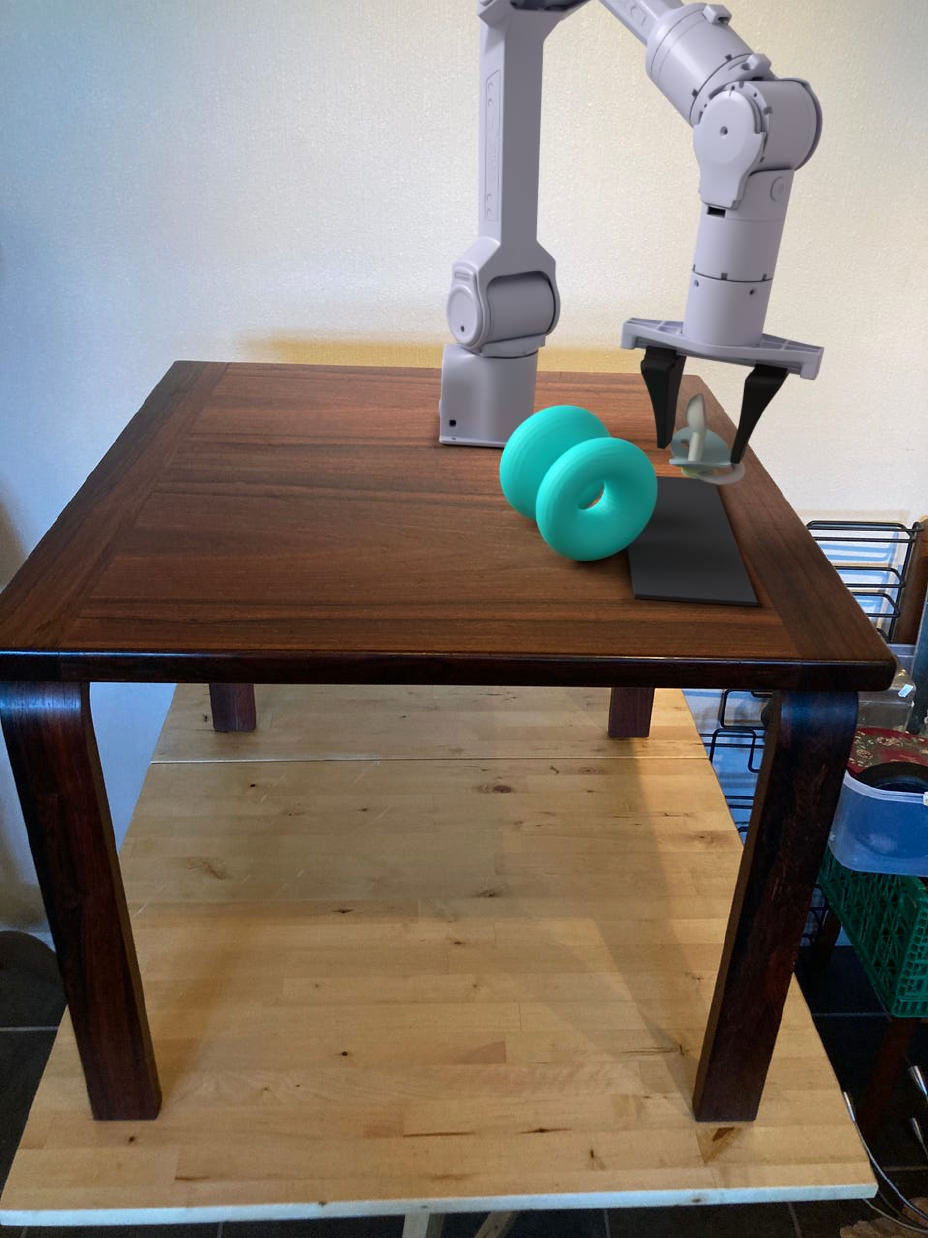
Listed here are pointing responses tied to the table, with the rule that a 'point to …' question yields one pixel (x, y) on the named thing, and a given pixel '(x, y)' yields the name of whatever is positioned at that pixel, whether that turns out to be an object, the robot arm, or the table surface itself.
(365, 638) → the table surface
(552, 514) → the donuts
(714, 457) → the pacifier
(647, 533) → the placemat
